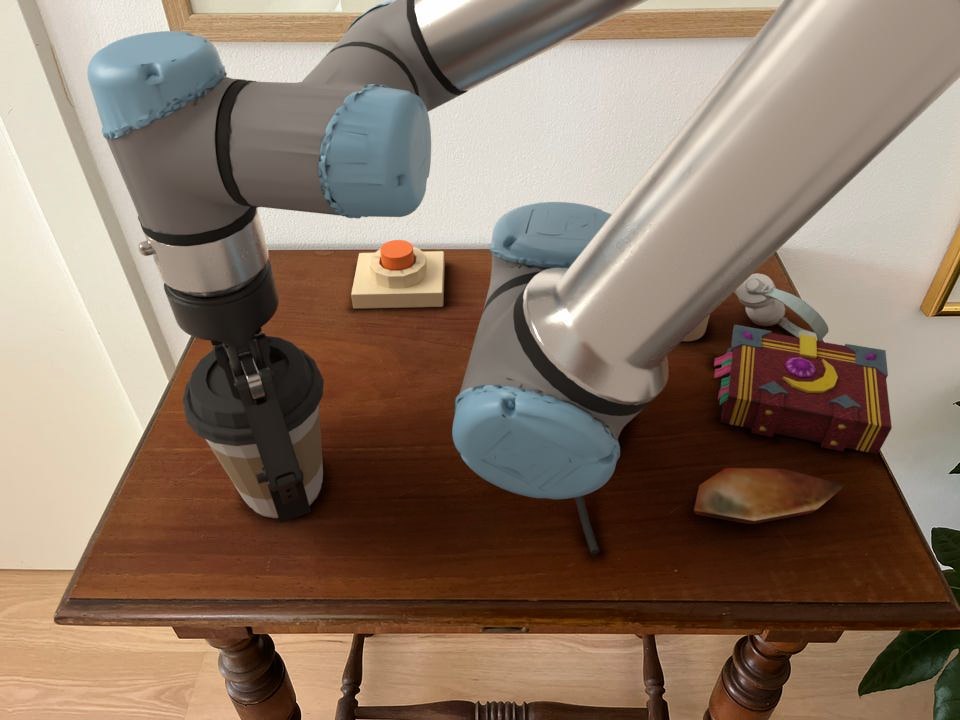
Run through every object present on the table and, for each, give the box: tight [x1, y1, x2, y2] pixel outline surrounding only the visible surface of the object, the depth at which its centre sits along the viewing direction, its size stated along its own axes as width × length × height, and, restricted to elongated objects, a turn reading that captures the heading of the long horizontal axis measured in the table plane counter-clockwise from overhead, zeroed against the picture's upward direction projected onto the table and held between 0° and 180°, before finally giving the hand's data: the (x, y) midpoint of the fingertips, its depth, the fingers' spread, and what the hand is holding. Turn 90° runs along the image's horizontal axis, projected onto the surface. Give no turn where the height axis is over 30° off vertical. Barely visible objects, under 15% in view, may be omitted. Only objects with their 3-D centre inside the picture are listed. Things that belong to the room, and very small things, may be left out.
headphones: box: [733, 273, 829, 342], centre depth 85 cm, size 8×4×20 cm
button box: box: [350, 246, 446, 310], centre depth 91 cm, size 11×9×4 cm
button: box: [379, 239, 414, 271], centre depth 89 cm, size 4×4×2 cm
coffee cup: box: [182, 335, 325, 519], centre depth 63 cm, size 11×11×15 cm
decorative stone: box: [693, 467, 846, 525], centre depth 65 cm, size 14×6×3 cm, turn 84°
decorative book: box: [713, 324, 893, 455], centre depth 74 cm, size 11×16×5 cm
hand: (277, 466), depth 66 cm, fingers closed on coffee cup, 11 cm apart
